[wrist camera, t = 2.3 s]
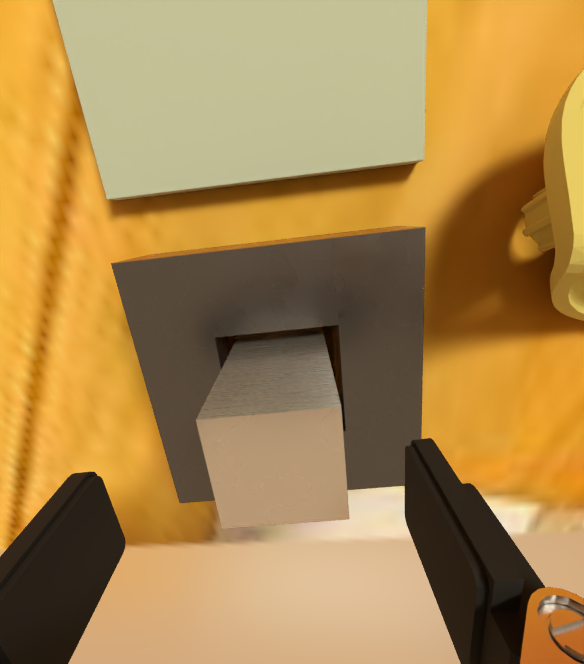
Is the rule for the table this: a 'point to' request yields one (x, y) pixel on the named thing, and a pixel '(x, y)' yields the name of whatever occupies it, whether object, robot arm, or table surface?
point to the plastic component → (563, 202)
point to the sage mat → (245, 89)
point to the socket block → (278, 315)
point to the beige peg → (275, 432)
